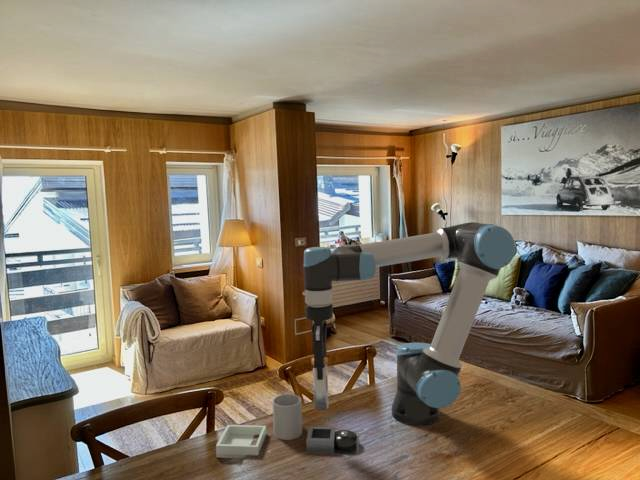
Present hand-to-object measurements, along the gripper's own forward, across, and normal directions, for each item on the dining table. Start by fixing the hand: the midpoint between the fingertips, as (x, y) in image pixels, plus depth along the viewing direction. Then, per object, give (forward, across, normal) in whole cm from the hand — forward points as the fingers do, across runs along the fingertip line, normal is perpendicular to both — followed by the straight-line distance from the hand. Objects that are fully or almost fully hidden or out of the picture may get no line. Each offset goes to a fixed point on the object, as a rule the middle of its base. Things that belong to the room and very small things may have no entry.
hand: (321, 385), depth 134 cm
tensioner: (+18, 0, +3) cm, 18 cm away
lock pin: (+6, 0, 0) cm, 6 cm away
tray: (+18, +1, -23) cm, 29 cm away
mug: (+18, -8, -11) cm, 23 cm away
